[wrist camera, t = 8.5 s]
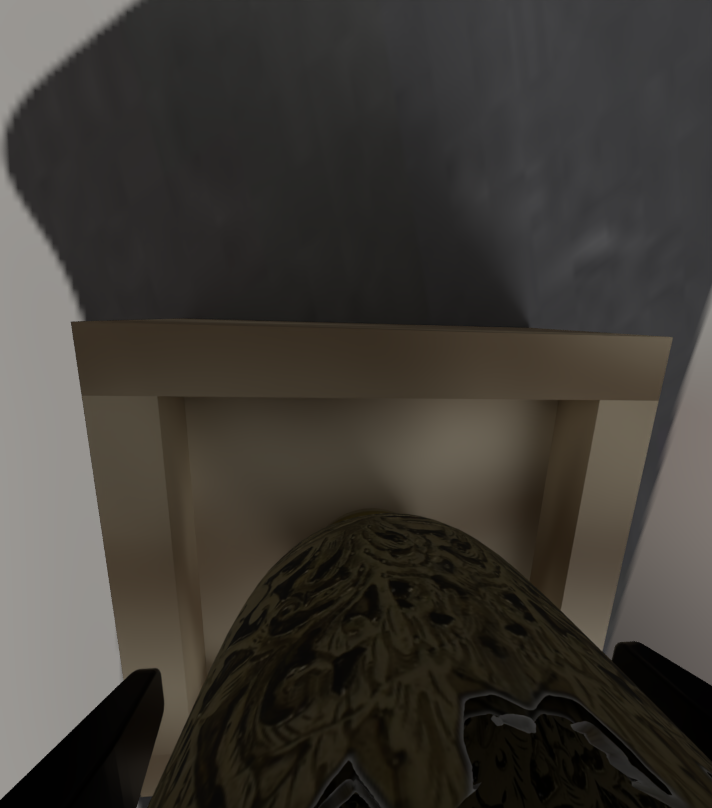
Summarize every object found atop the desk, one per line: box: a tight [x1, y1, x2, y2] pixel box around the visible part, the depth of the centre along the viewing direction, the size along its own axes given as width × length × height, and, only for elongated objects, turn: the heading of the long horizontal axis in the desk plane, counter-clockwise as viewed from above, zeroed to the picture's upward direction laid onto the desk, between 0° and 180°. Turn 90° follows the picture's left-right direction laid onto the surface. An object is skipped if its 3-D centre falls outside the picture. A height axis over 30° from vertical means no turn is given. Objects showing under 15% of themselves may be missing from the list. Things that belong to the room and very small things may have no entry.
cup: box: [147, 508, 712, 808], centre depth 7 cm, size 8×7×8 cm
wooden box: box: [71, 319, 673, 797], centre depth 12 cm, size 13×13×6 cm
